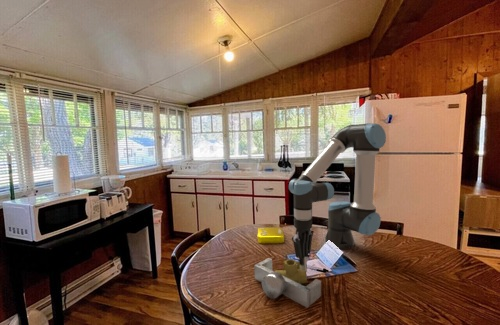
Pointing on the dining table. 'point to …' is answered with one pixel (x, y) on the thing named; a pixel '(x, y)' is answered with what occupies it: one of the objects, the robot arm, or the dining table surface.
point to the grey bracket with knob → (285, 285)
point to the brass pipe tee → (293, 271)
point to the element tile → (270, 235)
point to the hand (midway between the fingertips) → (303, 271)
